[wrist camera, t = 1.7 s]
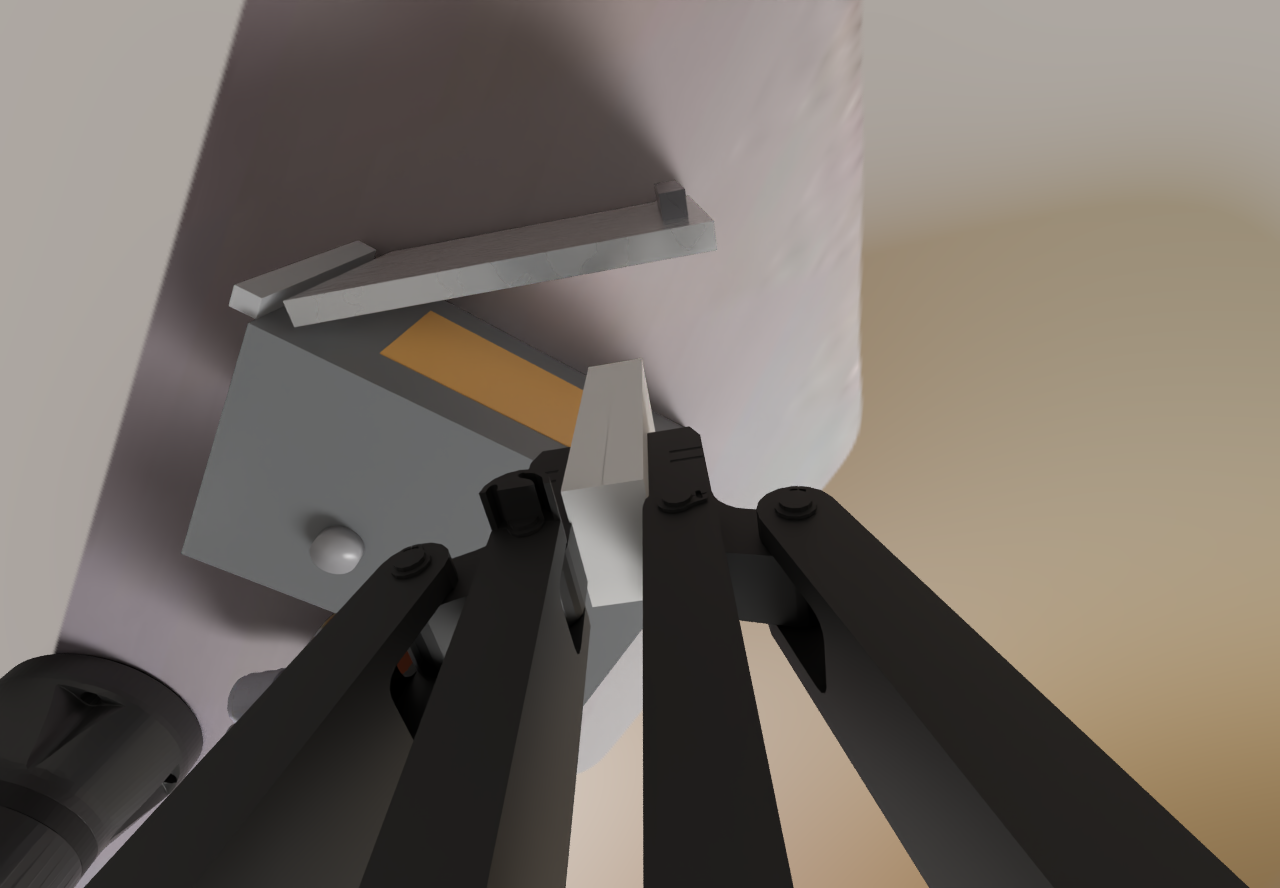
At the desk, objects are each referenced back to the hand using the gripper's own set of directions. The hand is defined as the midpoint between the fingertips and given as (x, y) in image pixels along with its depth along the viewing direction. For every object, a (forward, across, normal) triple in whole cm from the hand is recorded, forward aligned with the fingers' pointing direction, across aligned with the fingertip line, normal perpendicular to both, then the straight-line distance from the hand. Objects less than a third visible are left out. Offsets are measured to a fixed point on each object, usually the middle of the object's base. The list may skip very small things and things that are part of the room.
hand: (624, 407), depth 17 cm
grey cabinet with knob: (+18, -10, -8) cm, 22 cm away
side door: (+18, -4, +4) cm, 19 cm away
